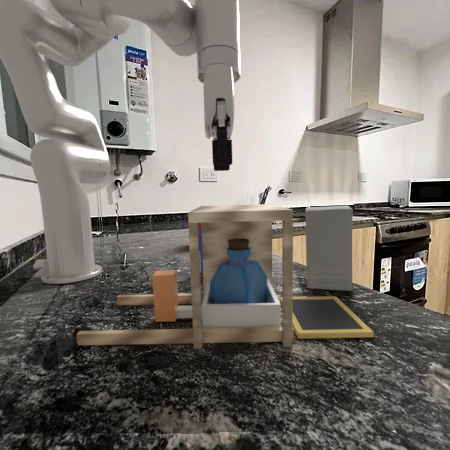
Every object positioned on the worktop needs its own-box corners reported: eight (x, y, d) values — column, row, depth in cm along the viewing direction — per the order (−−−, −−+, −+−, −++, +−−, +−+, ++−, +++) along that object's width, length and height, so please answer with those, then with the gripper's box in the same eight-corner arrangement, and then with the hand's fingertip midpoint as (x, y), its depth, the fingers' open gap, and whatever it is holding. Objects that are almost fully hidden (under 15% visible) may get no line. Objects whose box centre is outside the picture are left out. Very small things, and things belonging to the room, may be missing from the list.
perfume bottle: (249, 333, 35) (247, 245, 34) (211, 322, 38) (208, 242, 37) (267, 314, 40) (266, 238, 39) (232, 306, 43) (230, 235, 42)
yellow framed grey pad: (298, 338, 33) (298, 333, 33) (280, 301, 45) (280, 297, 45) (373, 337, 33) (373, 332, 33) (335, 300, 45) (336, 296, 45)
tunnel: (193, 348, 32) (187, 212, 30) (204, 298, 47) (201, 206, 45) (292, 346, 32) (293, 209, 30) (271, 297, 47) (270, 204, 45)
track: (77, 345, 33) (76, 334, 33) (119, 303, 46) (118, 295, 46) (293, 341, 33) (294, 330, 33) (275, 300, 46) (275, 291, 45)
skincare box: (348, 281, 54) (350, 205, 52) (352, 294, 47) (355, 207, 45) (305, 278, 57) (306, 205, 55) (304, 289, 50) (305, 207, 48)
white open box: (147, 336, 34) (143, 285, 33) (165, 303, 44) (163, 263, 44) (280, 333, 34) (280, 282, 33) (268, 301, 44) (268, 261, 43)
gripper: (200, 89, 54) (204, 172, 56) (192, 40, 37) (198, 163, 39) (236, 88, 54) (238, 171, 56) (245, 39, 37) (248, 161, 39)
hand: (222, 168), depth 48 cm, fingers open, 9 cm apart
